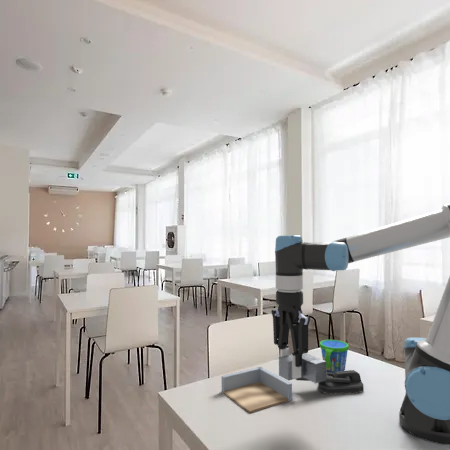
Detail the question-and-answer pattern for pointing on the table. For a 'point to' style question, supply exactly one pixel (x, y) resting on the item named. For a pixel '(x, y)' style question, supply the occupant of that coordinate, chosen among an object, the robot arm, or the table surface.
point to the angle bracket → (304, 368)
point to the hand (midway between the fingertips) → (290, 374)
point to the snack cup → (334, 354)
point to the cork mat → (255, 397)
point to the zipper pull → (340, 382)
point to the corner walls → (257, 376)
